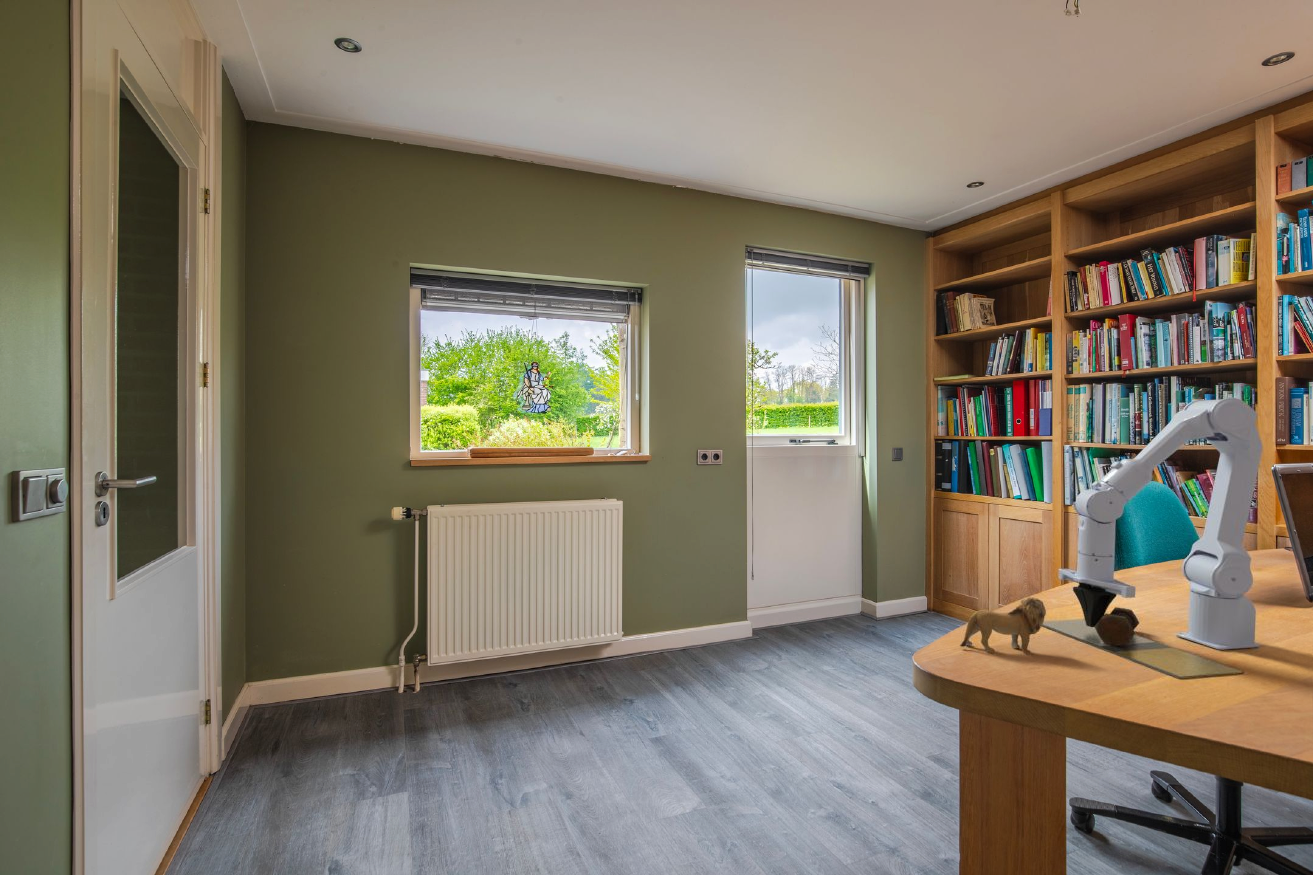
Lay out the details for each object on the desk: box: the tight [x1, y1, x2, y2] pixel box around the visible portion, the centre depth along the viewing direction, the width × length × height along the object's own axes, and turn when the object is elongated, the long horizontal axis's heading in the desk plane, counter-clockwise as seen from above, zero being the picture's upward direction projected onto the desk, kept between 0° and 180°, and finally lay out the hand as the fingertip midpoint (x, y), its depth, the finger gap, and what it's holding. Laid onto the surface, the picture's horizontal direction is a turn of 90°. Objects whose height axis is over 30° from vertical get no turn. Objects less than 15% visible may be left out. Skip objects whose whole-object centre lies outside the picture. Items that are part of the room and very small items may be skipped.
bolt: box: [1095, 606, 1140, 647], centre depth 119 cm, size 6×5×15 cm
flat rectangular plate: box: [1041, 618, 1245, 680], centre depth 115 cm, size 13×28×1 cm, turn 13°
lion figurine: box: [959, 596, 1047, 655], centre depth 112 cm, size 15×5×9 cm, turn 94°
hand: (1093, 626), depth 122 cm, fingers closed
